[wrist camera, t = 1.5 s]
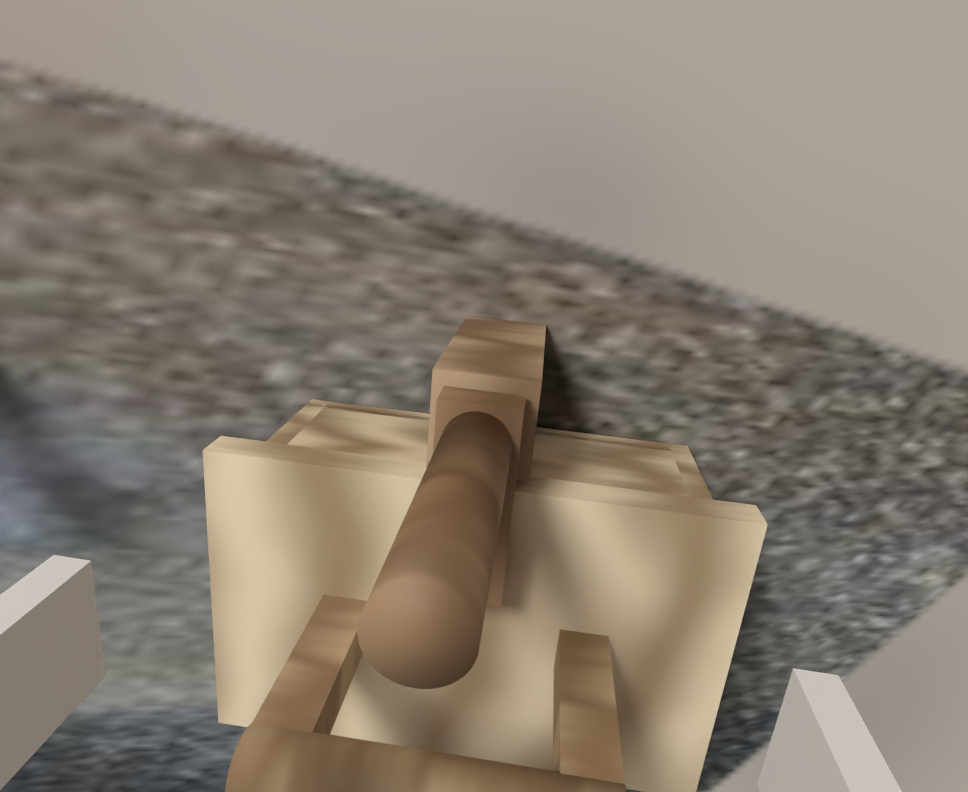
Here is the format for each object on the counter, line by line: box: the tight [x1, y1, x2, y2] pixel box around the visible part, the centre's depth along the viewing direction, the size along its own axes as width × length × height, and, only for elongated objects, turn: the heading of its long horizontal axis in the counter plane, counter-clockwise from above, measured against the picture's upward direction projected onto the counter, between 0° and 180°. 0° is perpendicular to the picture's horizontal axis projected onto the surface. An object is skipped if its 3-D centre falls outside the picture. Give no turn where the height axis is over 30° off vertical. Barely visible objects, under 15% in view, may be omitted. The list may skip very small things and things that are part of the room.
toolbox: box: [266, 316, 713, 500], centre depth 31 cm, size 20×18×10 cm
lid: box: [203, 436, 768, 792], centre depth 24 cm, size 22×14×11 cm, turn 85°
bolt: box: [357, 386, 526, 689], centre depth 19 cm, size 3×8×12 cm, turn 175°
